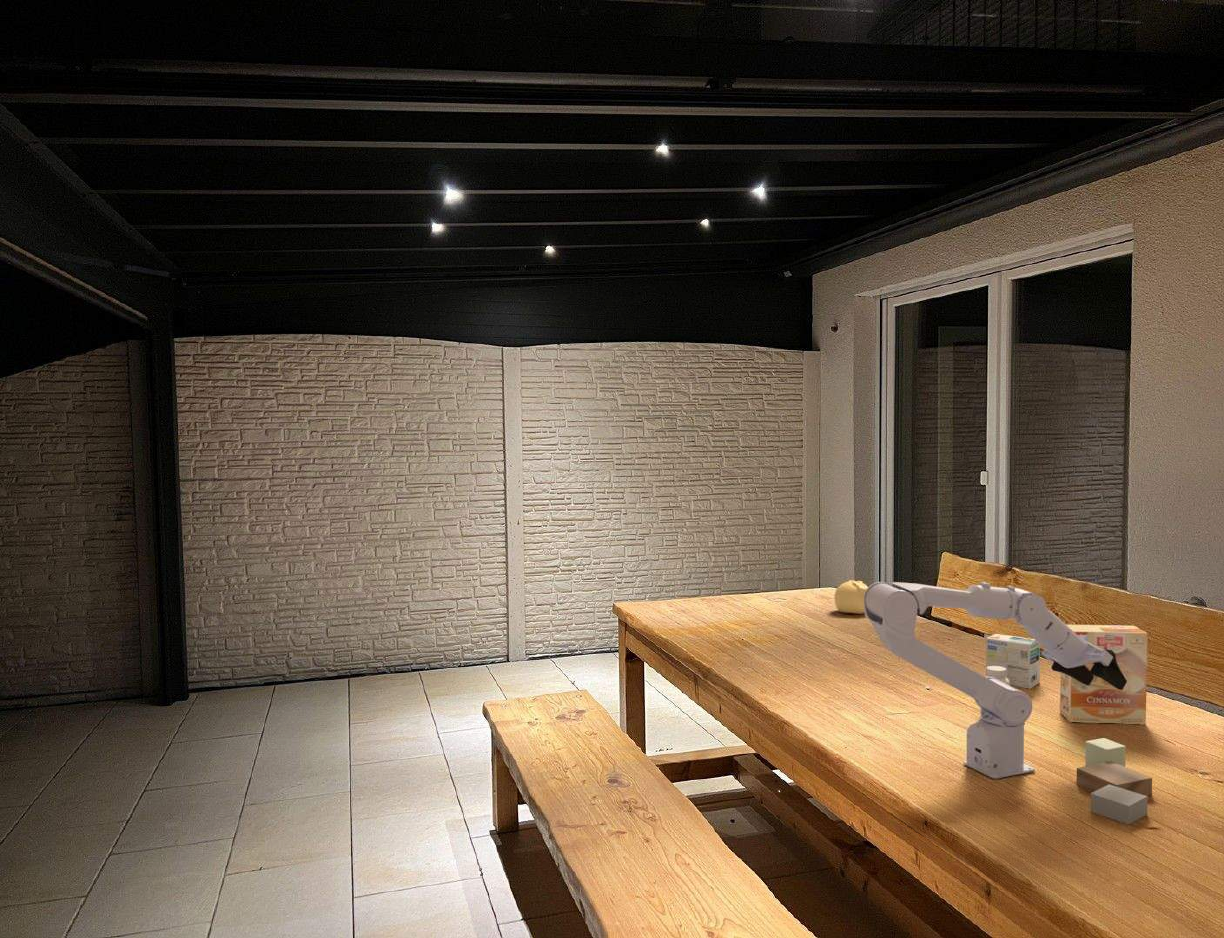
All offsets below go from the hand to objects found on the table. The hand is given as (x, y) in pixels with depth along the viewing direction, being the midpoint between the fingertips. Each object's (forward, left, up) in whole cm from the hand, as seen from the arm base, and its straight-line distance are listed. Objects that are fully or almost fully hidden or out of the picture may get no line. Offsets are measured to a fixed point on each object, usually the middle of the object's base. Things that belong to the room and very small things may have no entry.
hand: (1106, 683), depth 167 cm
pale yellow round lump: (+34, +128, -15) cm, 133 cm away
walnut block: (-10, -10, -15) cm, 21 cm away
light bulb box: (+22, +46, -15) cm, 53 cm away
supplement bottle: (+2, +30, -15) cm, 33 cm away
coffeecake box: (+19, +18, -15) cm, 30 cm away
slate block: (-17, -17, -15) cm, 28 cm away
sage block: (-4, -3, -15) cm, 16 cm away
